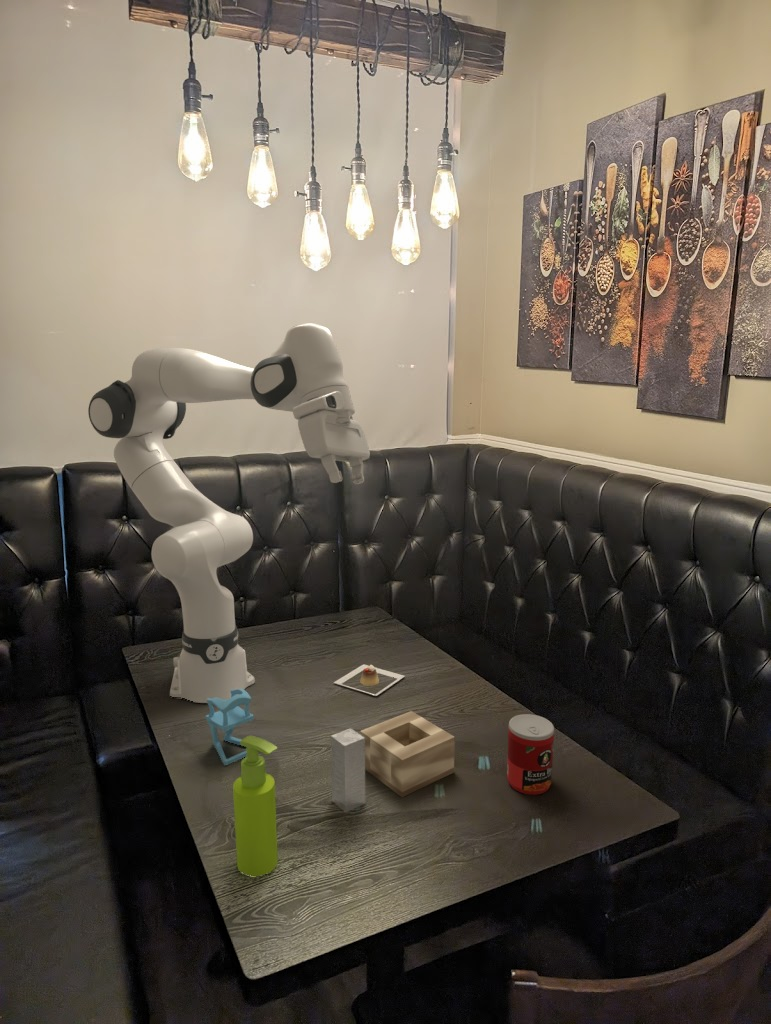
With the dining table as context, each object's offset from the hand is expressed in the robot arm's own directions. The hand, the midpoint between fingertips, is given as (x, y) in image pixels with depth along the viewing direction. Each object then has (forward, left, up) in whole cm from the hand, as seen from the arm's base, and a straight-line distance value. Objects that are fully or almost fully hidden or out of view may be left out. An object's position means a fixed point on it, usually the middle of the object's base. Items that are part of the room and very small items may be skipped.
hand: (348, 482), depth 126 cm
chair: (-6, -22, -51) cm, 56 cm away
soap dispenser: (+27, -24, -51) cm, 63 cm away
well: (+13, +6, -51) cm, 53 cm away
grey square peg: (+18, -7, -51) cm, 54 cm away
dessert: (-23, +13, -52) cm, 58 cm away
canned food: (+25, +24, -51) cm, 62 cm away
